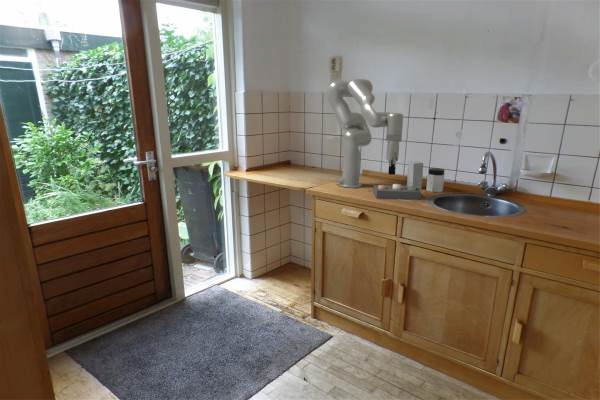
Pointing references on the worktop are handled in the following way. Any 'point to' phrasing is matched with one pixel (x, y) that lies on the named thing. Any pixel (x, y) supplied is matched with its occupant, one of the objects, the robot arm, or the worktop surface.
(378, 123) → the robot arm
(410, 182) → the skincare box
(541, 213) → the worktop surface
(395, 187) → the cream button
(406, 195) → the button panel
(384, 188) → the terracotta button
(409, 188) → the sage button
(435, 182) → the jar
